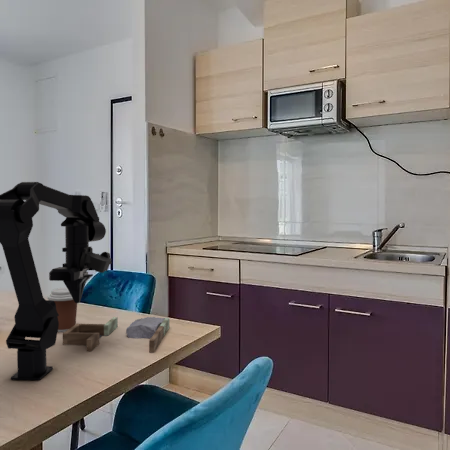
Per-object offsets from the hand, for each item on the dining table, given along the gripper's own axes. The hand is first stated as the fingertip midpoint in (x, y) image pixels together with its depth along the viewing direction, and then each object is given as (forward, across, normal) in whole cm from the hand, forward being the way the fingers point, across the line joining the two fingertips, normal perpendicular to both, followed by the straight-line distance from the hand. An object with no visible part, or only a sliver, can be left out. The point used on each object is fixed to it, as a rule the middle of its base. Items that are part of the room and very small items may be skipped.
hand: (77, 302), depth 107 cm
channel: (+12, +8, -8) cm, 16 cm away
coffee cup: (+12, +16, +11) cm, 23 cm away
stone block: (+12, +14, -14) cm, 24 cm away
